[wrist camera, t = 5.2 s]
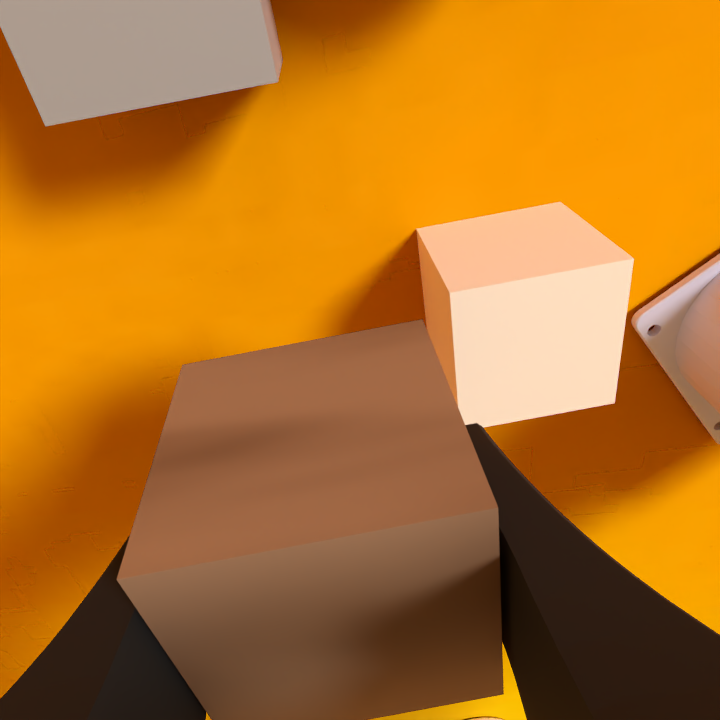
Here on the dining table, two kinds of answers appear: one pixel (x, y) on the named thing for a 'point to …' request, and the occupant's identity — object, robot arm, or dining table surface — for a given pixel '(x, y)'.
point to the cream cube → (525, 312)
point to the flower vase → (486, 718)
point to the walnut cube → (320, 534)
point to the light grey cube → (137, 51)
